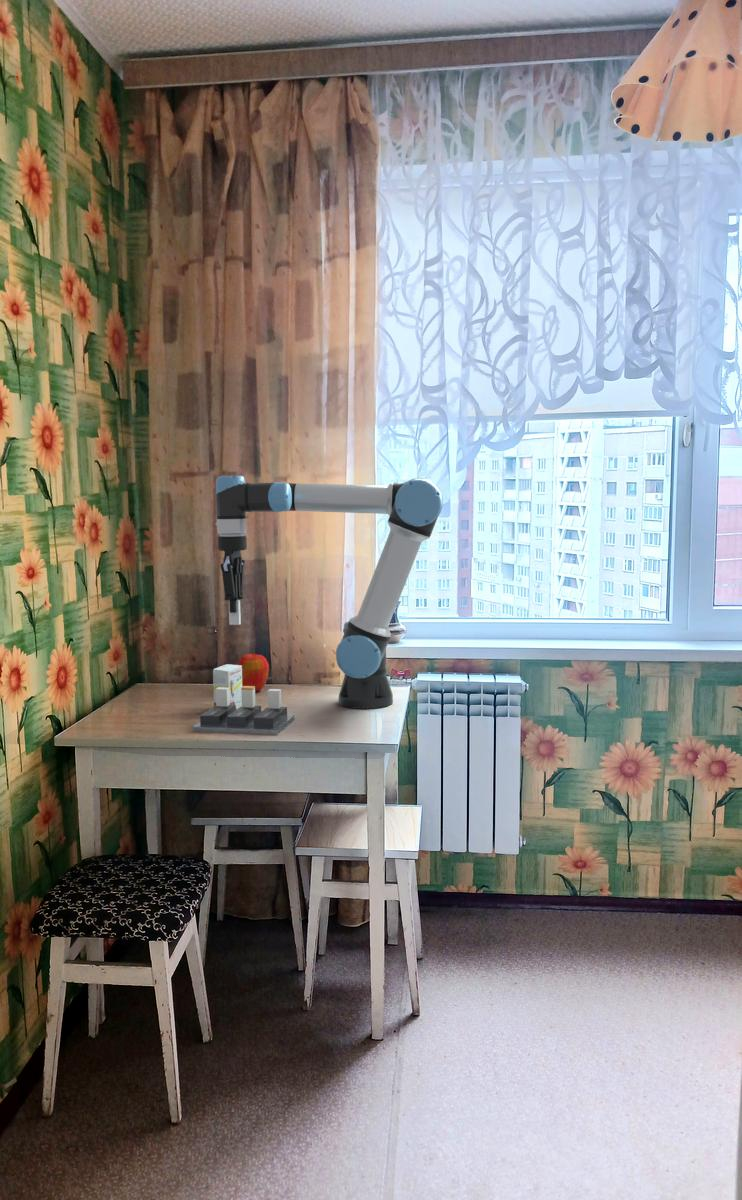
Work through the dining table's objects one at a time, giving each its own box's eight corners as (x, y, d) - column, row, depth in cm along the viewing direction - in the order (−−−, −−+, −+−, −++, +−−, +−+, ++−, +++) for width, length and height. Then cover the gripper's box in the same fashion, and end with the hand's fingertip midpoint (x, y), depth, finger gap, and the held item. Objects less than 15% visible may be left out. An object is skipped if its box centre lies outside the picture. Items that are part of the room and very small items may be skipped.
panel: (294, 719, 238) (294, 705, 237) (277, 734, 223) (276, 719, 223) (214, 716, 242) (214, 702, 242) (192, 731, 227) (192, 716, 227)
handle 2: (281, 706, 235) (281, 689, 234) (279, 708, 233) (278, 691, 232) (270, 706, 235) (269, 688, 235) (268, 707, 233) (267, 690, 233)
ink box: (229, 714, 244) (228, 670, 243) (213, 712, 246) (211, 669, 244) (244, 706, 252) (242, 664, 251) (228, 705, 254) (226, 663, 253)
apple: (233, 694, 268) (232, 653, 266) (243, 687, 276) (242, 648, 275) (264, 695, 266) (263, 654, 264) (273, 688, 275) (272, 649, 273)
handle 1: (229, 704, 237) (229, 687, 237) (227, 706, 236) (226, 689, 235) (219, 704, 238) (218, 687, 238) (216, 706, 236) (215, 688, 236)
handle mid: (255, 705, 236) (254, 686, 235) (253, 707, 234) (252, 687, 233) (244, 705, 237) (243, 685, 236) (241, 707, 235) (241, 687, 234)
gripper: (226, 533, 246) (229, 620, 249) (209, 536, 233) (213, 628, 236) (253, 533, 245) (256, 620, 248) (237, 536, 232) (241, 628, 235)
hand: (235, 624), depth 242 cm, fingers closed
